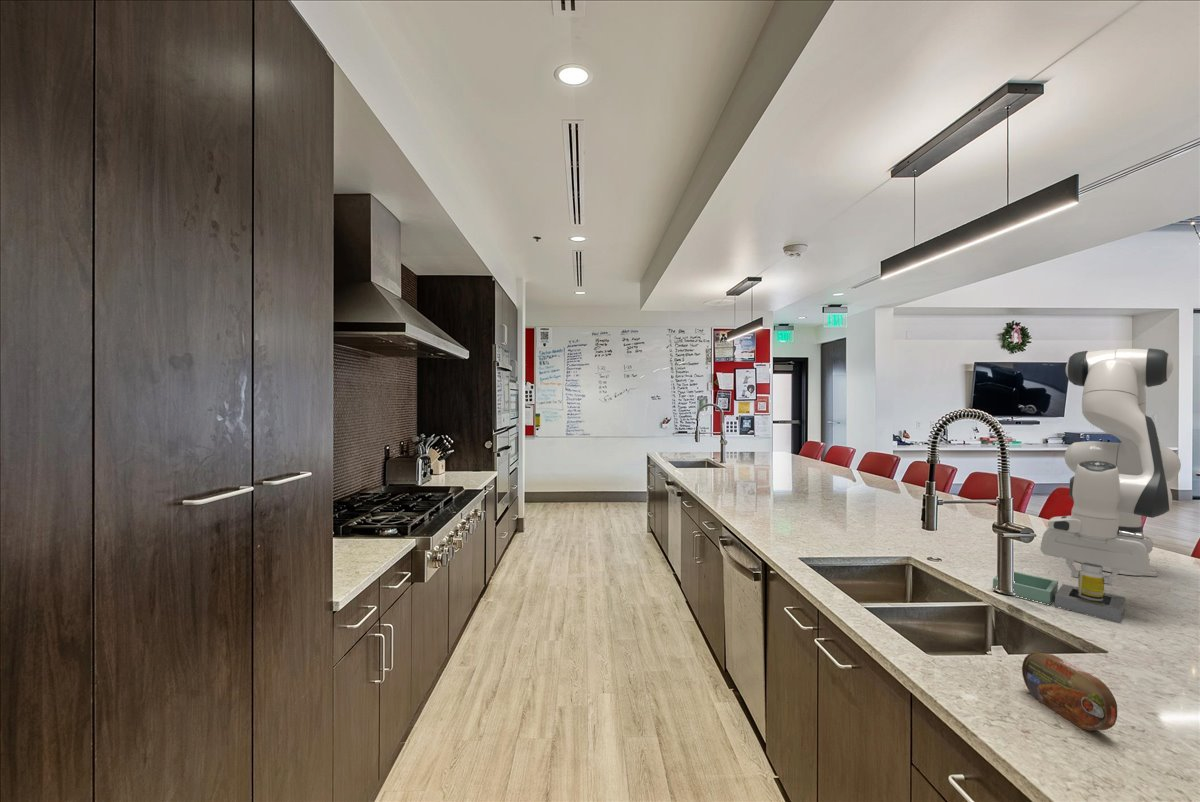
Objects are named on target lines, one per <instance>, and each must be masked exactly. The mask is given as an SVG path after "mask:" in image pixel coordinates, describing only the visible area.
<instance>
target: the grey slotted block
mask: <svg viewBox="0 0 1200 802" xmlns="http://www.w3.org/2000/svg"><path fill="white" fill-rule="evenodd" d="M1055 606H1057V607H1061V608H1065V609H1069V610H1072V611H1071V612H1073V611H1075V612H1074V613H1077V612H1080V613H1079V614H1081V613H1084V614H1083V615H1085V614H1088V615H1087V616H1089V615H1092V616H1091V617H1093V616H1096V617H1095V618H1097V617H1099V618H1098V619H1101V618H1102V620H1105V619H1107V620H1106V621H1109V620H1110V622H1113V623H1118V624H1121V623H1122V619H1123V615H1124V613H1125V609H1126V608H1125V607H1126V597H1124V596H1119V595H1114V594H1111V593H1110V594H1109V593H1105V592H1104V593H1103V600H1102V601H1093V600H1088V599H1085V598H1082V597H1080V596H1079V595H1078V586H1073V585H1068V584H1064V583H1062V585H1061V586H1060V588H1058V592H1057V593H1056V595H1055V598H1054V607H1055ZM1057 607H1056V608H1057ZM1061 608H1060V609H1061ZM1065 609H1064V610H1065ZM1069 610H1068V611H1069Z"/></svg>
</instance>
